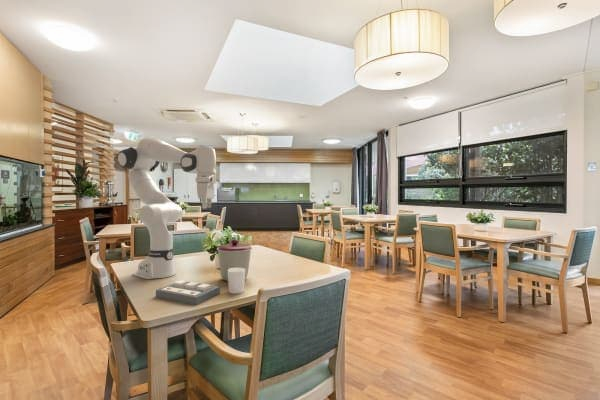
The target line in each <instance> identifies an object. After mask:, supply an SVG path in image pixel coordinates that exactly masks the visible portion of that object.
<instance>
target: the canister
mask: <svg viewBox="0 0 600 400" xmlns="http://www.w3.org/2000/svg"><path fill="white" fill-rule="evenodd" d="M252 249H253V247H252V246H251V245H250V244H246V243H239V239H236V238H233V239H231V242H230V243H225V244H221V245H219V246H218V247H217V248H216V250H217V252H218V254H217V255H218V264H219V273H220V277H221V279H222V280H224V281H225V282H228V269H231V268H244V269H245V279H246V278H247V276H248V274H249V266H250V261H251V251H252Z"/></svg>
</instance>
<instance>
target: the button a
mask: <svg viewBox="0 0 600 400" xmlns="http://www.w3.org/2000/svg"><path fill="white" fill-rule="evenodd" d="M187 282H188V280H183V279H182V280H176V281H174V282H173V284H174V286H175V287H183V286H185V284H187Z"/></svg>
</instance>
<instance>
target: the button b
mask: <svg viewBox="0 0 600 400" xmlns="http://www.w3.org/2000/svg"><path fill="white" fill-rule="evenodd" d="M200 284H201V285H199V286H197V290H199V291H206V290H209V289H210V285H211V284H207V283H200Z"/></svg>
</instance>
